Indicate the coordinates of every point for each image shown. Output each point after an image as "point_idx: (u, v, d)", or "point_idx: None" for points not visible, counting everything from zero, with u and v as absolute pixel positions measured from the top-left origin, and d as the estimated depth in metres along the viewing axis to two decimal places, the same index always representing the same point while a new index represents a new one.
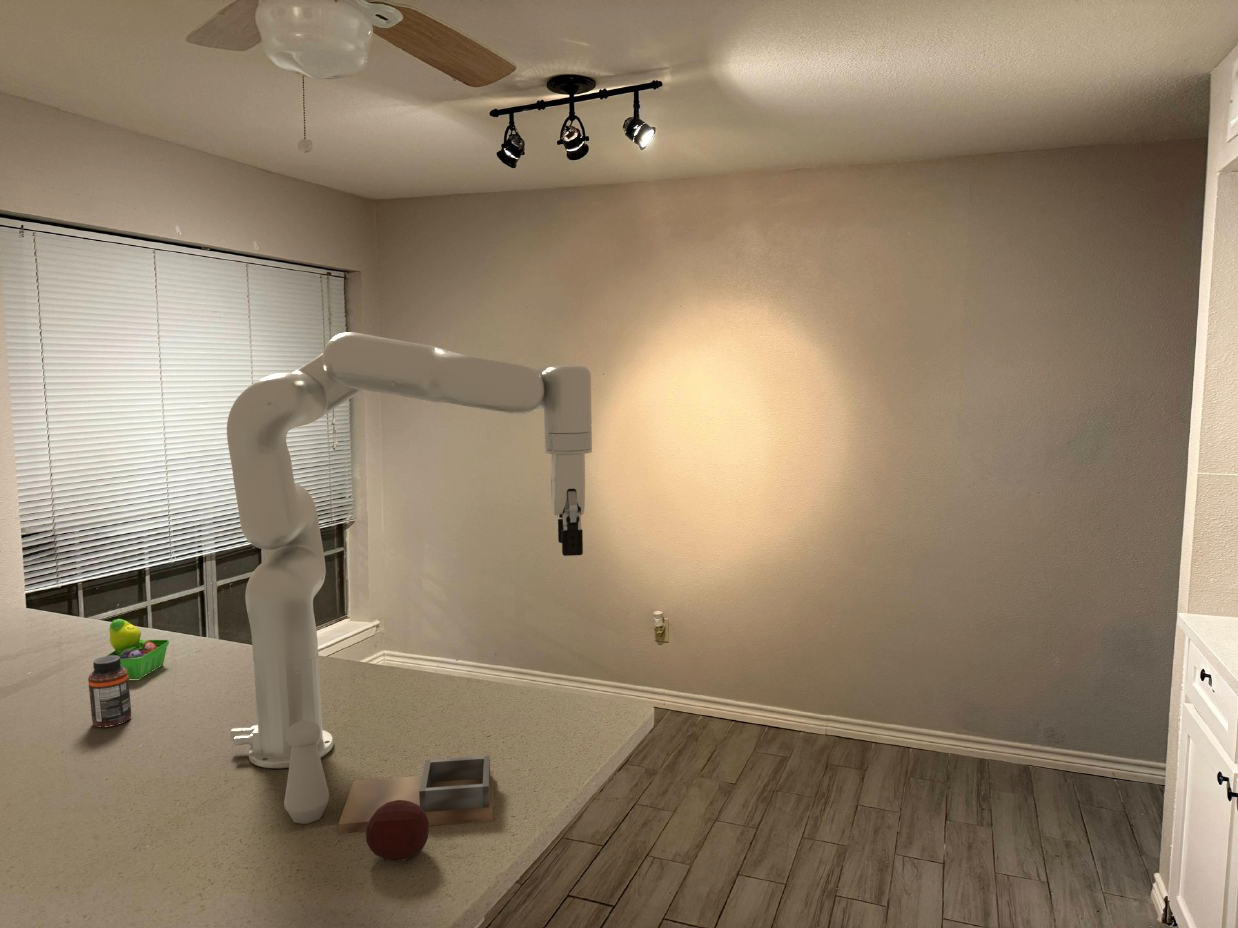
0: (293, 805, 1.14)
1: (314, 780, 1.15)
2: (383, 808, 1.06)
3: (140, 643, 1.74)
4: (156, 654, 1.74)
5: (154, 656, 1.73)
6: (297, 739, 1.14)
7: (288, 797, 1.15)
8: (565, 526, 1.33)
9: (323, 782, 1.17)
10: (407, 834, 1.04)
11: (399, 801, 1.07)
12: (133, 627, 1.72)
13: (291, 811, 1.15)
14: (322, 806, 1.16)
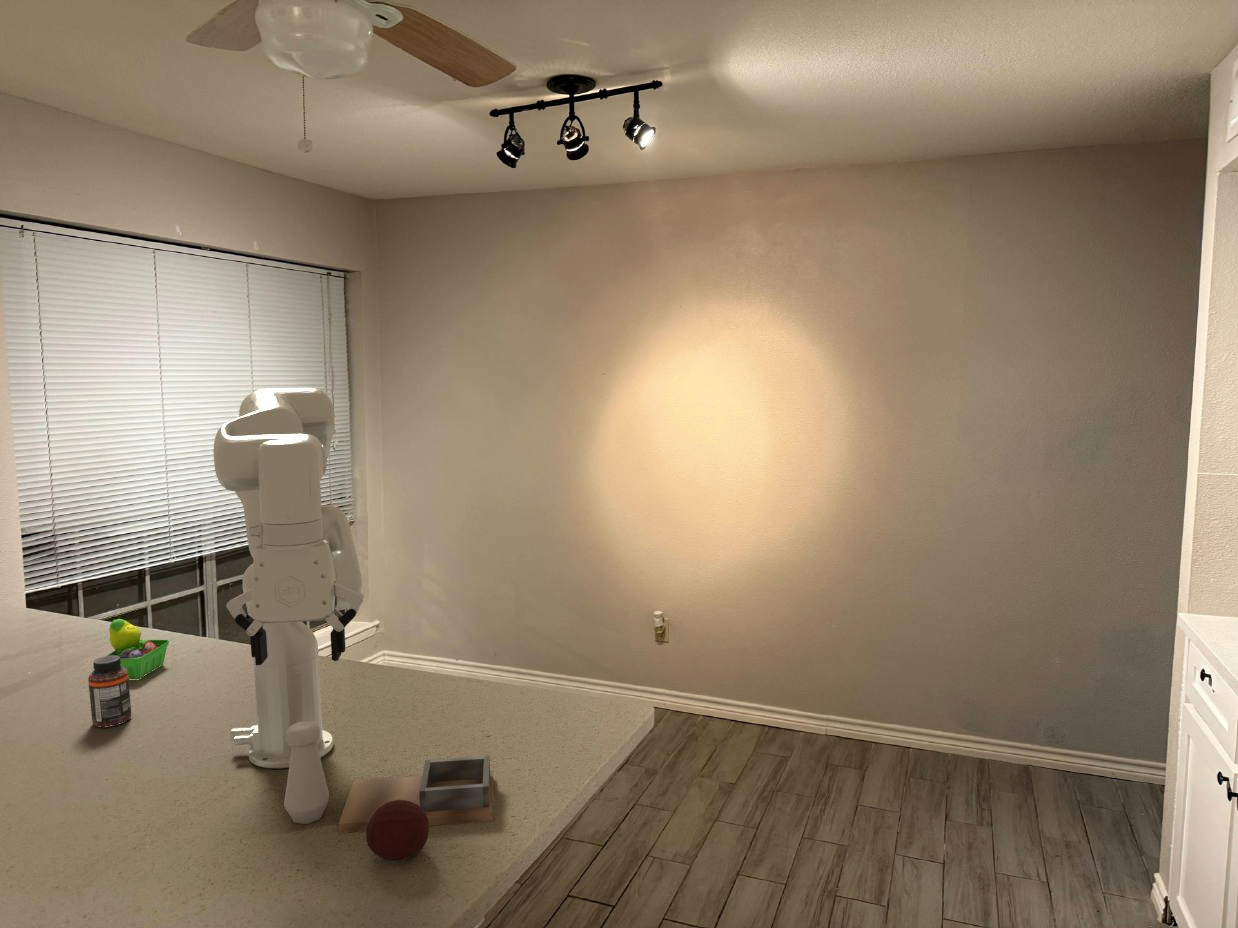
0: (293, 805, 1.14)
1: (314, 781, 1.15)
2: (383, 808, 1.06)
3: (140, 643, 1.74)
4: (156, 654, 1.74)
5: (154, 656, 1.73)
6: (297, 739, 1.14)
7: (287, 798, 1.15)
8: (343, 624, 1.14)
9: (323, 782, 1.17)
10: (407, 834, 1.04)
11: (399, 801, 1.07)
12: (133, 627, 1.72)
13: (291, 811, 1.15)
14: (322, 806, 1.16)
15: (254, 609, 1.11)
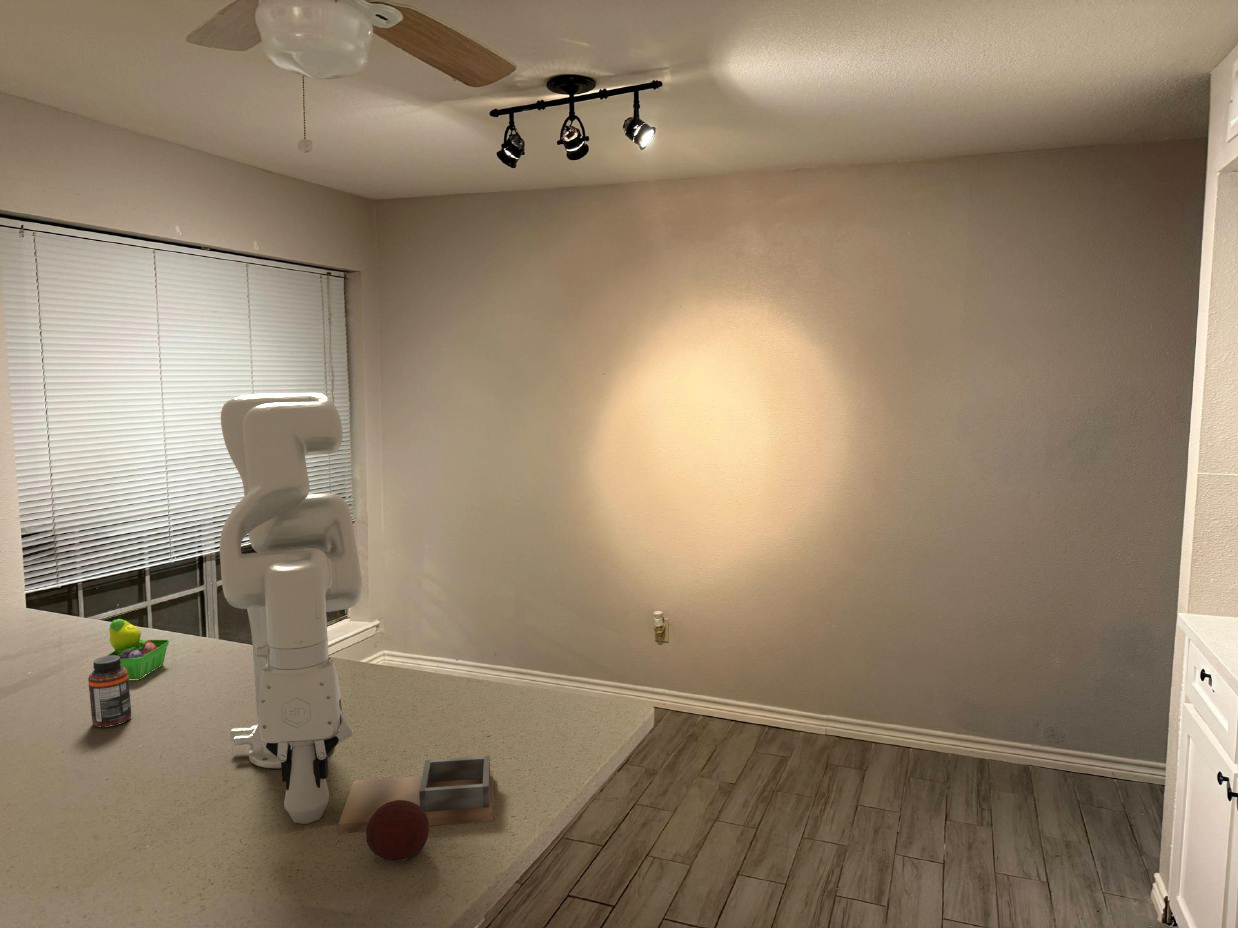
0: (293, 805, 1.14)
1: (314, 781, 1.15)
2: (383, 808, 1.06)
3: (140, 643, 1.74)
4: (156, 654, 1.74)
5: (154, 656, 1.73)
6: None
7: (288, 798, 1.15)
8: (326, 754, 1.16)
9: (323, 782, 1.17)
10: (407, 834, 1.04)
11: (399, 801, 1.07)
12: (133, 627, 1.72)
13: (291, 811, 1.15)
14: (322, 806, 1.16)
15: (261, 730, 1.13)
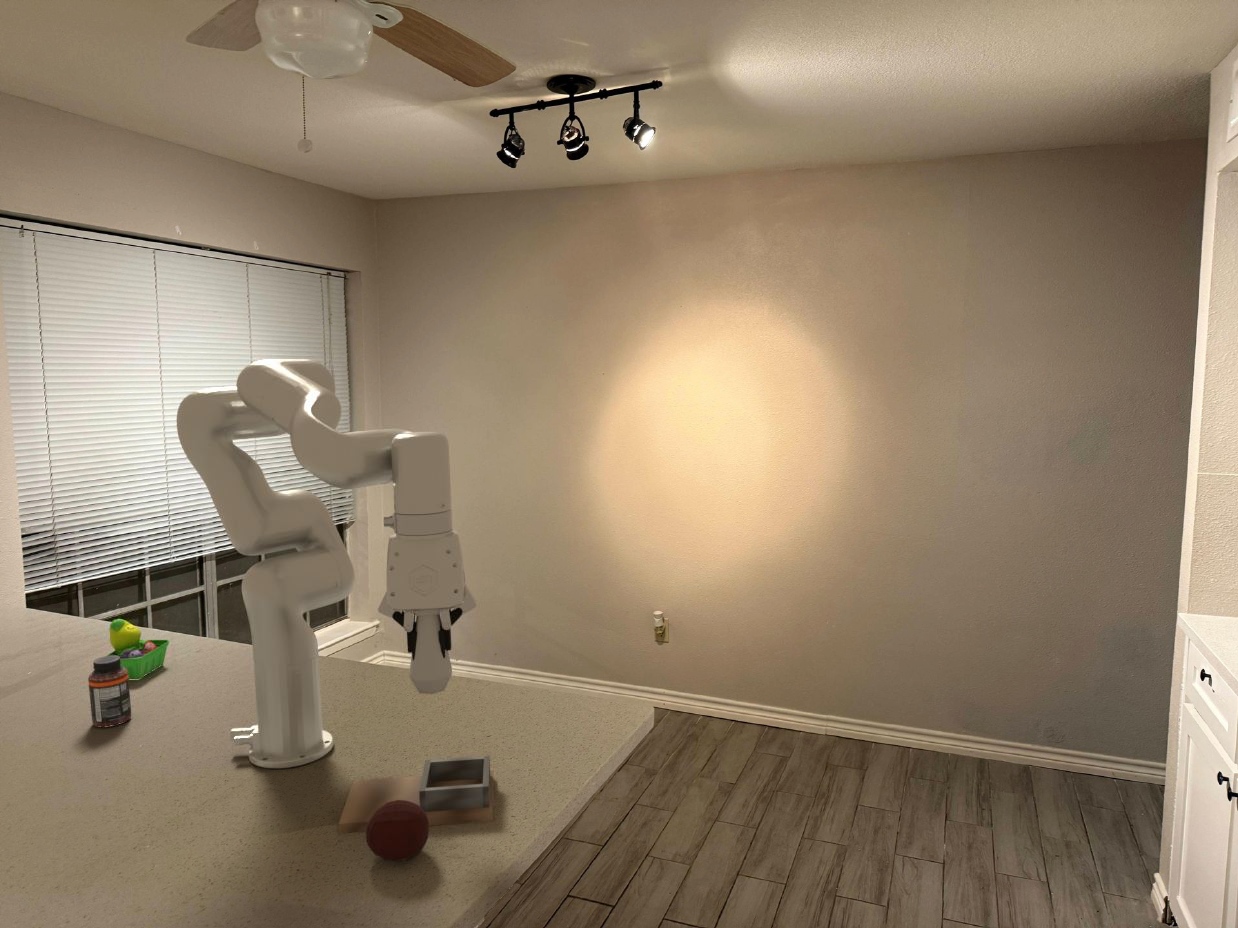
0: (419, 674, 1.15)
1: (440, 651, 1.16)
2: (383, 808, 1.06)
3: (140, 643, 1.74)
4: (156, 654, 1.74)
5: (154, 656, 1.73)
6: None
7: (414, 667, 1.16)
8: (451, 625, 1.16)
9: (447, 654, 1.17)
10: (407, 834, 1.04)
11: (399, 801, 1.07)
12: (133, 627, 1.72)
13: (417, 680, 1.15)
14: (447, 677, 1.17)
15: (389, 597, 1.14)
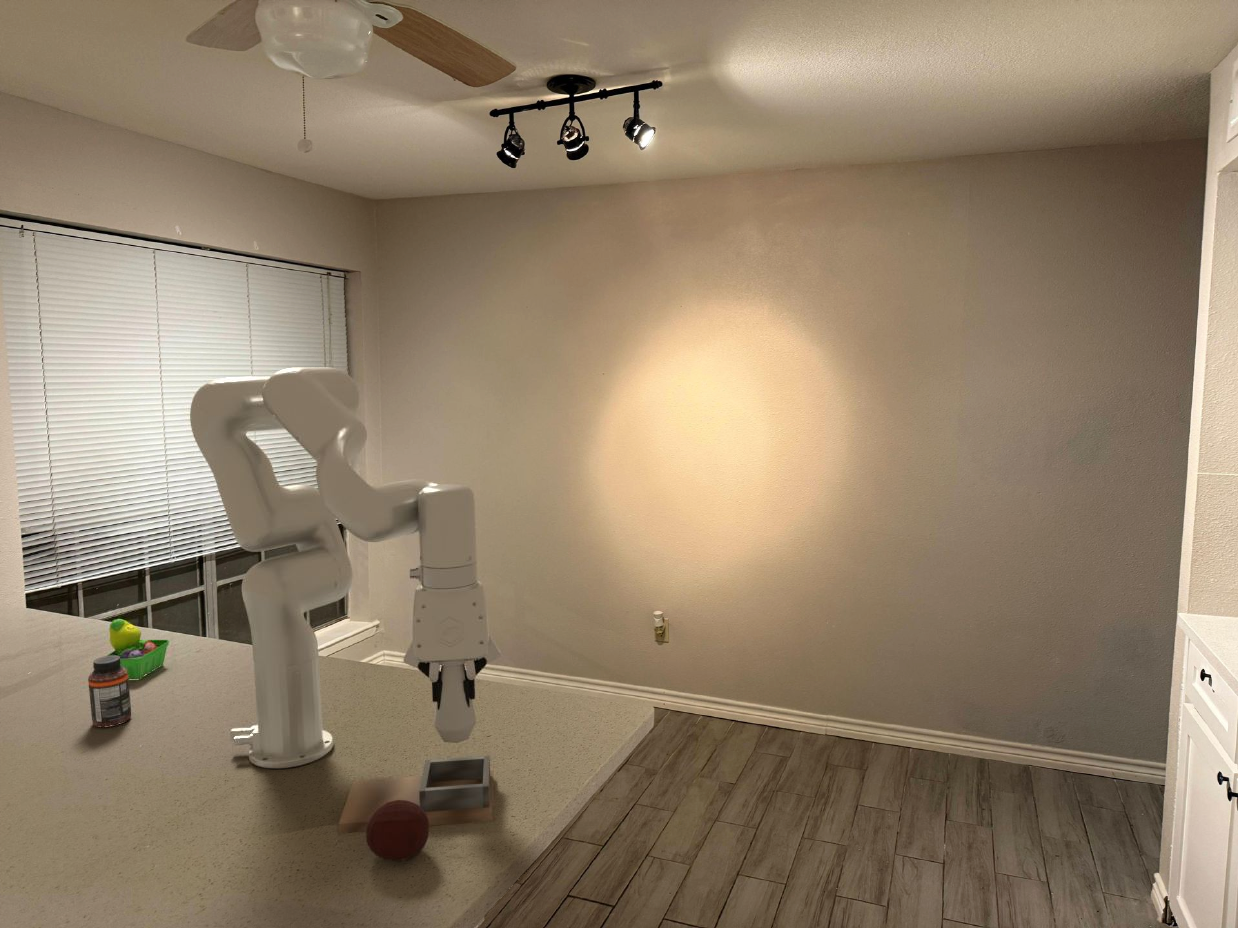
0: (445, 723, 1.17)
1: (465, 700, 1.18)
2: (383, 808, 1.06)
3: (140, 643, 1.74)
4: (156, 654, 1.74)
5: (154, 656, 1.73)
6: None
7: (439, 717, 1.17)
8: (475, 675, 1.18)
9: (471, 703, 1.19)
10: (407, 834, 1.04)
11: (399, 801, 1.07)
12: (133, 627, 1.72)
13: (442, 730, 1.17)
14: (471, 726, 1.18)
15: (415, 649, 1.15)
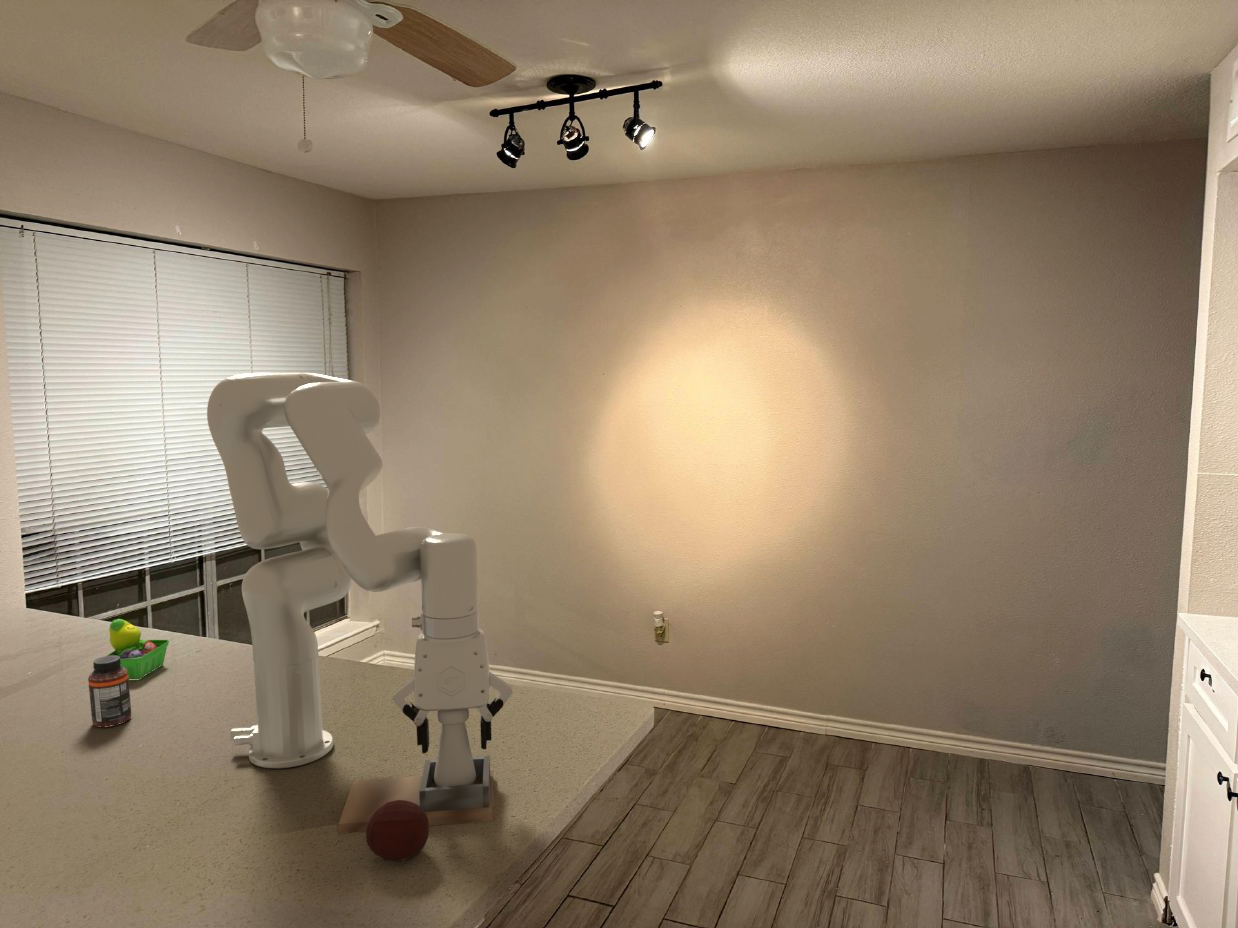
0: (445, 781, 1.18)
1: (465, 758, 1.19)
2: (383, 808, 1.06)
3: (140, 643, 1.74)
4: (156, 654, 1.74)
5: (154, 656, 1.73)
6: (450, 717, 1.17)
7: (440, 774, 1.18)
8: (492, 715, 1.19)
9: (471, 760, 1.20)
10: (407, 834, 1.04)
11: (399, 801, 1.07)
12: (133, 627, 1.72)
13: None
14: (472, 783, 1.19)
15: (417, 698, 1.16)
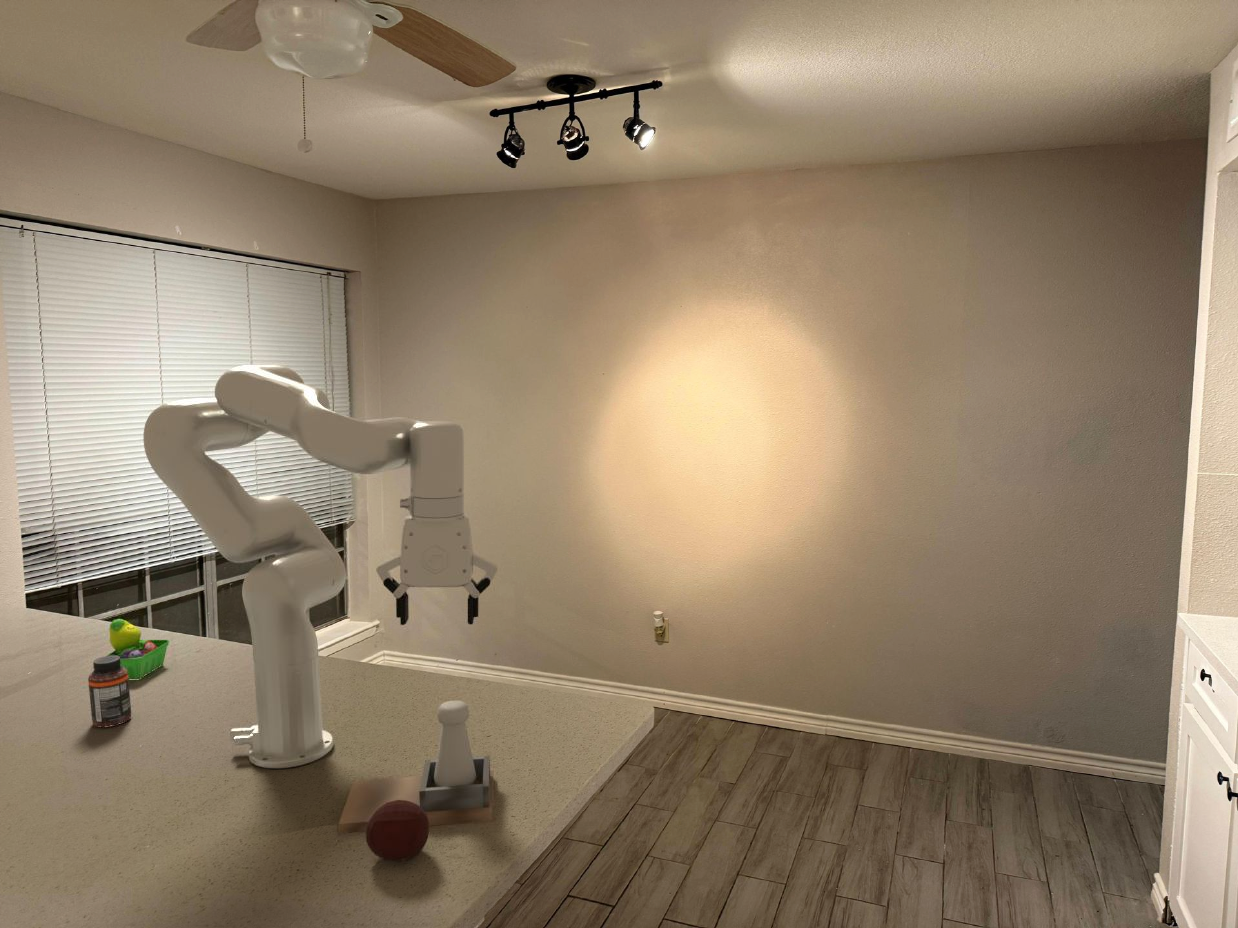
0: (445, 781, 1.18)
1: (465, 758, 1.19)
2: (383, 808, 1.06)
3: (140, 643, 1.74)
4: (156, 654, 1.74)
5: (154, 656, 1.73)
6: (450, 717, 1.17)
7: (440, 774, 1.18)
8: (479, 591, 1.25)
9: (471, 760, 1.20)
10: (407, 834, 1.04)
11: (399, 801, 1.07)
12: (133, 627, 1.72)
13: None
14: (472, 783, 1.19)
15: (402, 574, 1.22)
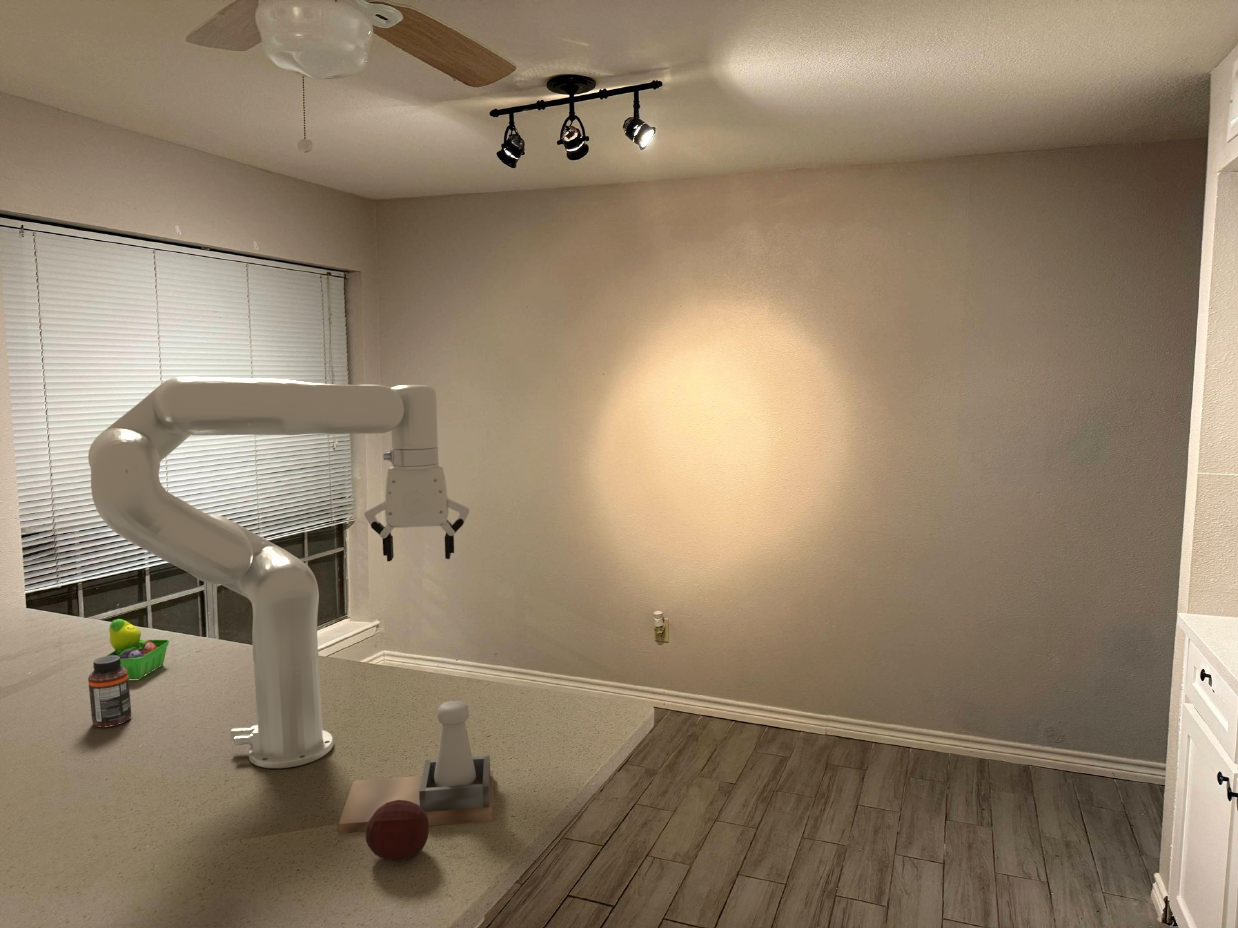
0: (445, 781, 1.18)
1: (465, 758, 1.19)
2: (383, 808, 1.06)
3: (140, 643, 1.74)
4: (156, 654, 1.74)
5: (154, 656, 1.73)
6: (450, 717, 1.17)
7: (440, 774, 1.18)
8: (454, 530, 1.45)
9: (471, 760, 1.20)
10: (407, 834, 1.04)
11: (399, 801, 1.07)
12: (133, 627, 1.72)
13: None
14: (472, 783, 1.19)
15: (387, 516, 1.42)
